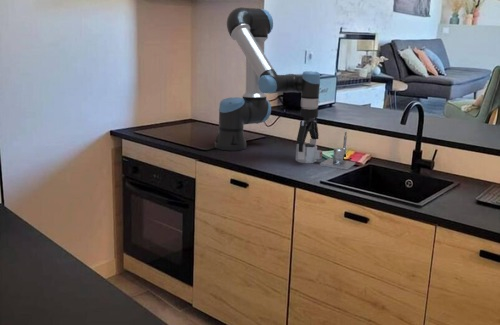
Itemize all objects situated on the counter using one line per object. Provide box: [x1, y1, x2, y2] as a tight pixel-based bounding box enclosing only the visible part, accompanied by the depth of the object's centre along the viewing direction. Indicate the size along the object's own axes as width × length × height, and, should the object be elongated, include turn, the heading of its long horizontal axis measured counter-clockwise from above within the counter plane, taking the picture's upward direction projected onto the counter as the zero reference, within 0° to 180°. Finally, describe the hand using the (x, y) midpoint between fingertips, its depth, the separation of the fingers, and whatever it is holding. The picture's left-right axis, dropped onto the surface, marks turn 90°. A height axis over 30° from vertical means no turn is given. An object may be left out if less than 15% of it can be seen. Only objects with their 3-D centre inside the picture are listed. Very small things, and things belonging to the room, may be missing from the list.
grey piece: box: [295, 142, 323, 164], centre depth 229 cm, size 11×8×7 cm
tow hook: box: [342, 130, 348, 157], centre depth 238 cm, size 8×13×9 cm
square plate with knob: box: [319, 147, 356, 170], centre depth 225 cm, size 12×12×7 cm
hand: (306, 156), depth 229 cm, fingers open, 13 cm apart
